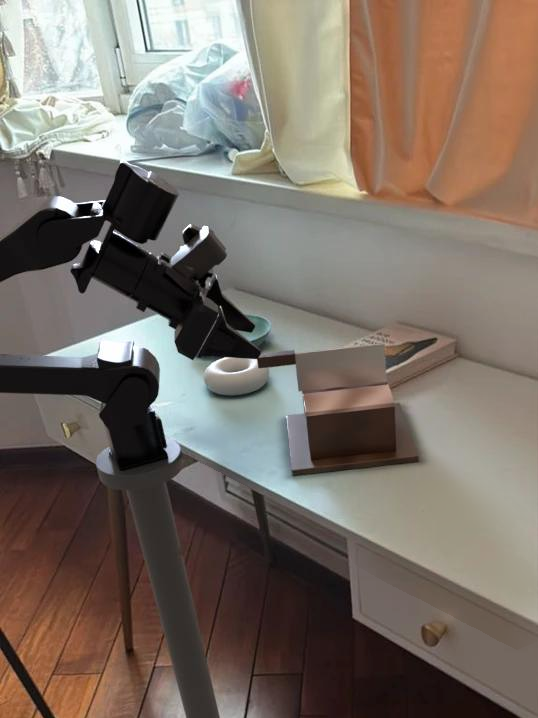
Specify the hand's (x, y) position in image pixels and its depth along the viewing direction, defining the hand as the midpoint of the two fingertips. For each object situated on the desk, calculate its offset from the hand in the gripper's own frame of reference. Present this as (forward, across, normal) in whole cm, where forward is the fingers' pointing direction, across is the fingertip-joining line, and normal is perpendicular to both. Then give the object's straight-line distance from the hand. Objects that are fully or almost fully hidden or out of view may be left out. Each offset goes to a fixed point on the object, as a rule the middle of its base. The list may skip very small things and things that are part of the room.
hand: (256, 341), depth 105 cm
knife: (+10, -2, +1) cm, 10 cm away
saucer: (+6, +39, +13) cm, 42 cm away
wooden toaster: (+17, -2, +5) cm, 18 cm away
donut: (+6, +21, +13) cm, 26 cm away
